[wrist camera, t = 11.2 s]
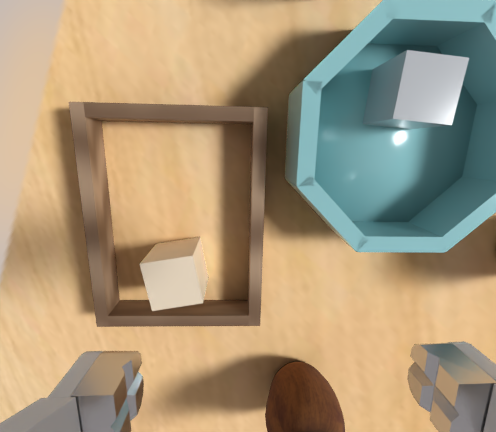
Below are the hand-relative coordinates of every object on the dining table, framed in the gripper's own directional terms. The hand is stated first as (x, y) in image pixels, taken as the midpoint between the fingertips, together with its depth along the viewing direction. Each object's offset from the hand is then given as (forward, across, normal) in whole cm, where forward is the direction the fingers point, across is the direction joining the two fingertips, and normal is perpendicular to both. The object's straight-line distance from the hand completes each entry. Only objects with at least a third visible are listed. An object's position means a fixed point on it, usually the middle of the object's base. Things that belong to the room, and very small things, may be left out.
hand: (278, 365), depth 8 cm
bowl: (+17, -11, -7) cm, 21 cm away
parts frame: (+17, +6, -1) cm, 18 cm away
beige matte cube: (+17, +6, +3) cm, 19 cm away
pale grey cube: (+16, -11, -10) cm, 22 cm away
